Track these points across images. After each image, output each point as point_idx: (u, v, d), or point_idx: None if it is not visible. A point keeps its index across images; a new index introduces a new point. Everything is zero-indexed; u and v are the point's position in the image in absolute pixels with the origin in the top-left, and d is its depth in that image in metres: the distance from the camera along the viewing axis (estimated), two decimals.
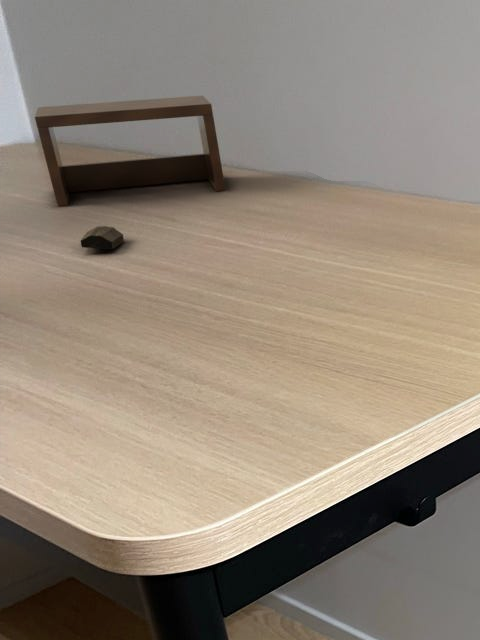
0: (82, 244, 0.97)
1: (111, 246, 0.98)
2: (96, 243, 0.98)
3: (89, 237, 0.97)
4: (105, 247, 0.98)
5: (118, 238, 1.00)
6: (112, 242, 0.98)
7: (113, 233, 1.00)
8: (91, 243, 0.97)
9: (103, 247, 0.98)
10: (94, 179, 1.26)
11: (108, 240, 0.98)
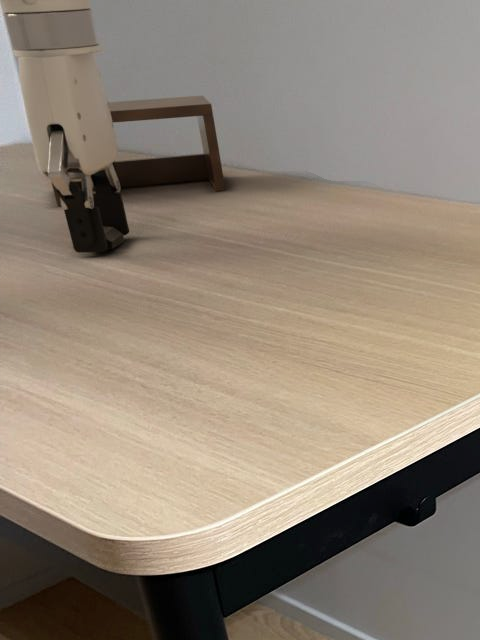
0: None
1: (111, 246, 0.98)
2: None
3: None
4: None
5: (118, 238, 1.00)
6: (112, 242, 0.98)
7: (113, 233, 1.01)
8: None
9: None
10: None
11: (108, 240, 0.98)
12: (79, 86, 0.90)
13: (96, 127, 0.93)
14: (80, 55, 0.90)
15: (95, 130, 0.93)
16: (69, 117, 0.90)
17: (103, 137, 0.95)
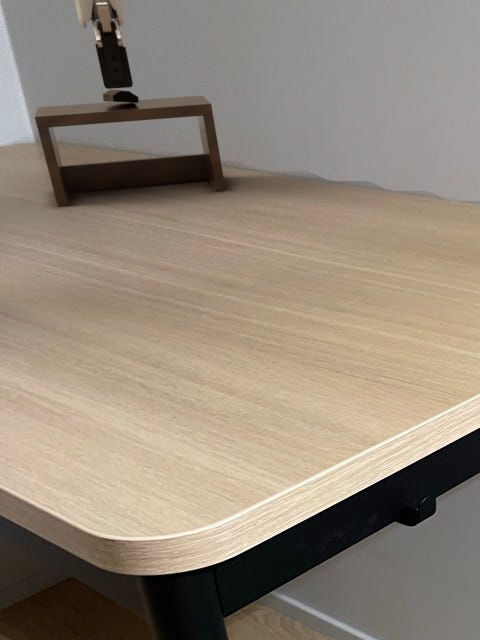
0: (114, 98, 1.17)
1: (137, 100, 1.18)
2: (125, 97, 1.17)
3: (119, 92, 1.17)
4: (133, 101, 1.18)
5: None
6: (137, 97, 1.18)
7: None
8: (121, 97, 1.17)
9: (131, 101, 1.18)
10: (94, 179, 1.26)
11: (135, 95, 1.18)
12: None
13: None
14: None
15: None
16: None
17: None
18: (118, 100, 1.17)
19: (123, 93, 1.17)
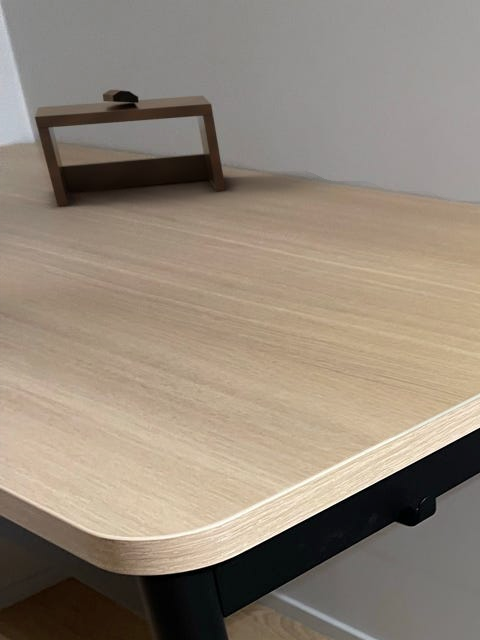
0: (114, 98, 1.17)
1: (137, 100, 1.18)
2: (125, 97, 1.17)
3: (119, 92, 1.17)
4: (133, 101, 1.18)
5: None
6: (137, 97, 1.18)
7: None
8: (121, 97, 1.17)
9: (131, 101, 1.18)
10: (94, 179, 1.26)
11: (135, 95, 1.18)
12: None
13: None
14: None
15: None
16: None
17: None
18: (118, 100, 1.17)
19: (123, 93, 1.17)
